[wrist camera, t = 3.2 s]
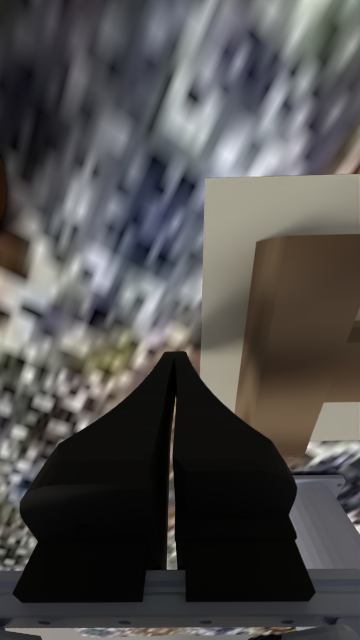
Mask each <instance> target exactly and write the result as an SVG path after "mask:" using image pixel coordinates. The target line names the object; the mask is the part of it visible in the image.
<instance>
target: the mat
mask: <svg viewBox="0 0 360 640" xmlns="http://www.w3.org/2000/svg"><path fill="white" fill-rule="evenodd" d="M332 234H360V174H345V175H308V176H272V177H236V178H205V207H204V246H203V284H202V323H201V361H200V378H201V379H202V381H203V382H204V383H205V384H206V386H207V387H208V388H209V389H210V390H211V391H212V393H213V394H214V395H215V396H216V397H217V398H218V399H219V400H220V401H221V402H222V403H223V404H224V405H225V406H227V407H228V408H229V409H230V410H231V411H232V412H233V413H234V411H235V404H236V396H237V388H238V380H239V372H240V365H241V357H242V349H243V341H244V333H245V326H246V318H247V310H248V302H249V294H250V287H251V279H252V271H253V263H254V255H255V247H256V242H257V241H262V240H268V239H273V238H278V237H283V236H291V235H332ZM359 320H360V308H359V311H358V313H357V316H356V319H355V321H359ZM325 440H360V402H329V403H324V404H323V406H322V409H321V412H320V414H319V417H318V420H317V422H316V425H315V428H314V430H313V433H312V435H311V438H310V441H325Z"/></svg>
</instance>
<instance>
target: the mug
mask: <svg viewBox="0 0 360 640" xmlns="http://www.w3.org/2000/svg"><path fill="white" fill-rule="evenodd" d="M6 199H7V185H6V178H5V172H4V168H3V164H2V161H1V158H0V221H1V219H2V217H3V214H4V211H5V207H6Z"/></svg>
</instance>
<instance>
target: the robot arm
mask: <svg viewBox="0 0 360 640" xmlns="http://www.w3.org/2000/svg"><path fill="white" fill-rule="evenodd" d="M175 397H176V415H175V430H174V443H173V455H172V456H173V472H174V489H175V541H176V554H177V570H167V532H168V498H169V468H170V442H171V430H172V422H173V414H174V405H175ZM345 482H346V480H345V479H344V477H343V476H341V475H292V474H291V472H290V470H289V468H288V466H287V464H286V463H285V461H284V459H283V458H282V456H281V454H280V453H279V451H278V450H277V448H276V447H275V445H274V444H273V442H272V441H271V440H270V439H269V438H267V437H266V436H264V435H263V434H261V433H260V432H258V431H257V430H256V429H254V428H253V427H251V426H250V425H248V424H247V423H246V422H244V421H243V420H242V419H241V418H239V417H238V416H237V415H235V414H234V413H233V412H232V411H231V410H230V409H229V408H228V407H227V406H225V405H224V404H223V403H222V402H221V401H220V400H219V399H218V398H217V397H216V396H215V395H214V394H213V393H212V391H211V390H210V389H209V388H208V387H207V386H206V384H205V383H204V382H203V381H202V379H201V378H200V377H199V375H198V374H197V372H196V371H195V369H194V367H193V366H192V364H191V362H190V360H189V358H188V356H187V353H186V352H185V351H178V352H164V353H163V355H162V357H161V358H160V360H159V361H158V363H157V364H156V366H155V367H154V368H153V370H152V371H151V372H150V374H149V375H148V376H147V377H146V378H145V379H144V381H143V382H142V383H141V384H140V385H139V386H138V387H137V388H136V389H135V390H134V391H133V392H132V393H131V394H130V395H129V396H128V397H126V398H125V399H124V400H123V401H122V402H121V403H119V404H118V405H117V406H116V407H114V408H113V409H112V410H111V411H109V412H108V413H106V414H105V415H104V416H102V417H101V418H99V419H98V420H96V421H95V422H94V423H92V424H90V425H89V426H87V427H86V428H84V429H82V430H81V431H79V432H78V433H76V434H74V435H73V436H71V437H69V438H68V439H66V440H64V441H63V442H61V443H59V444H58V446H57V447H56V448H55V450H54V451H53V452H52V454H51V455H50V457H49V458H48V459H47V461H46V463H45V464H44V466H43V467H42V469H41V470H40V472H39V473H38V475H37V476H36V478H35V480H34V481H33V483H32V484H31V486H30V487H29V489H28V490H27V492H26V493H25V495H24V497H23V498H22V500H21V501H20V515H21V517H22V519H23V521H24V522H25V524H26V525H27V527H28V528H29V529H30V531H31V532H32V534H33V535H34V536H35V538H36V539H37V541H38V543H37V545H36V547H35V549H34V551H33V553H32V555H31V557H30V559H29V561H28V563H27V565H26V567H25V569H24V571H0V640H42V639H41V637H40V636H37V635H30V634H23V633H16V632H9V631H5V628H160V627H296V629H297V631H293V632H288V633H283V634H282V638H281V640H360V534H359V533H358V531H357V530H356V528H355V527H354V525H353V523H352V522H351V520H350V519H349V517H348V516H347V514H346V513H345V511H344V510H343V508H342V506H341V505H340V503H339V502H338V500H337V499H336V498H337V496H338V494H339V493H340V491H341V489H342V487H343V486H344V484H345Z"/></svg>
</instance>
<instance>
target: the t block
mask: <svg viewBox="0 0 360 640" xmlns="http://www.w3.org/2000/svg"><path fill="white" fill-rule="evenodd" d="M359 308H360V234H332V235H291V236H283V237H278V238H273V239H268V240H262V241H257V242H256V247H255V255H254V263H253V271H252V279H251V287H250V294H249V302H248V310H247V318H246V326H245V333H244V341H243V349H242V357H241V365H240V372H239V380H238V388H237V396H236V404H235V411H234V414H235V415H237V416H238V417H239V418H241V419H242V420H243V421H244V422H246V423H247V424H248V425H250V426H251V427H253V428H254V429H256V430H257V431H258V432H260V433H261V434H263V435H264V436H266V437H267V438H269V439H270V440H271V441H272V442H273V444H274V445H275V447H276V448H277V450H278V451H279V453H280V454H281V456H282V457H304V454H305V451H306V449H307V446H308V443H309V441H310V438H311V435H312V433H313V430H314V428H315V425H316V422H317V420H318V417H319V414H320V412H321V409H322V406H323V404H324V403H329V402H360V320H359V321H355V319H356V316H357V313H358V311H359Z"/></svg>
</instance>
